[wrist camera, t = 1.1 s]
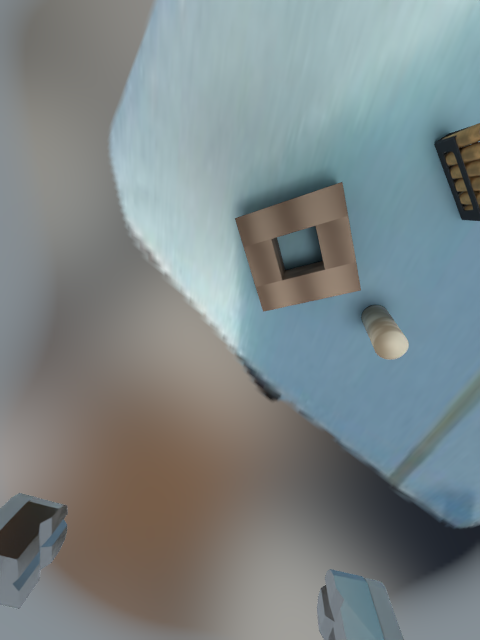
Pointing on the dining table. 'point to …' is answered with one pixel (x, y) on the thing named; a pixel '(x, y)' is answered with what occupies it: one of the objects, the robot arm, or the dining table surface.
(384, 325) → the peg
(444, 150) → the ammunition clip
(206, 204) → the dining table surface
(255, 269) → the socket block
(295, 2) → the dining table surface
